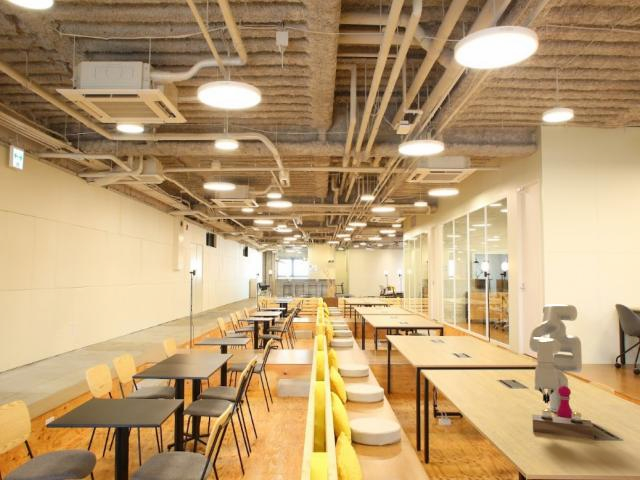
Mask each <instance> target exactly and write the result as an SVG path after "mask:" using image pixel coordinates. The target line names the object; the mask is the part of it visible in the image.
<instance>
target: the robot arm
mask: <svg viewBox="0 0 640 480" xmlns="http://www.w3.org/2000/svg"><path fill="white" fill-rule="evenodd" d="M542 313H543V317H542V323H540V324H539V325H536V326H535V328H533V329H532V331H531V333H530V337H529V349H530V350H531V351H532V352H534V353H536V354H537V355H536V361H537V364H536V366H535V370H534V390H536V391H539V392H540V393H541V394H542V401H543V402H544V404H549V405H547V406H546V409H548V410H551V412H554V413H557V411H558V408H559V406H560V398H559V397H560V396H559V395H560V394H559V393H558V389H559V387H561V386H562V384H563V383H565V384H566V387H568V388H569V380H568V376H566V374H565V373H575V374H578V373H580V372H582V368H583V359H582V342H581V340H580V338H579V337H578V336H576V335H569V334H568V335H567V326H566V324H565V323H564V322H563V321H571V322H572V321H573V322H574V321H575V320H576V319H577V317H578V310H577V308H576V306H574V305H572V304H560V303H559V304H557V303H551V304H546V305H544V306H543V308H542ZM547 335H549V337H548V338H547V337H544V336H547ZM560 352H561V353H560ZM563 353H568V354H563ZM569 353H570V354H569ZM546 389H547V392H546V391H545V390H546ZM571 410H572V411H573V409H572V408H571Z"/></svg>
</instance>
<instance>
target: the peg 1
mask: <svg viewBox="0 0 640 480" xmlns="http://www.w3.org/2000/svg"><path fill="white" fill-rule="evenodd" d="M542 415H543V420H552V418H551V416H552V411H551V410H548V409H547V408H544V409H542Z"/></svg>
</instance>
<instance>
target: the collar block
mask: <svg viewBox="0 0 640 480" xmlns="http://www.w3.org/2000/svg"><path fill="white" fill-rule="evenodd" d="M531 418H532V431H533V432H532V433H536V434H545V435H551V436H552V435H554V436H560V437H569V438H570V437H571V438H576V439H585V440H593V441H594V440H595V432H594V431H595V430H594V425H593V422H592V421H591V420H588V419H581V424H579V423H572V418H562V417H559V416H553V415H551V418H552V420H543V414H542V415H541V414H533V413H532V417H531Z"/></svg>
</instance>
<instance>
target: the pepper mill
mask: <svg viewBox="0 0 640 480" xmlns="http://www.w3.org/2000/svg"><path fill="white" fill-rule="evenodd" d="M558 393H559V394H560V395H559V396H560V397H559V398H560V406H559V408H558V411H557V412H556V414H557V417H562V418H572V412H573V409H572V408H571V406H570V399H571V394H572V392H571V389H570V387H569V386H568V387H566V384H565V383H563V384H562V386H561V387H559V389H558ZM571 409H572V410H571Z"/></svg>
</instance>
